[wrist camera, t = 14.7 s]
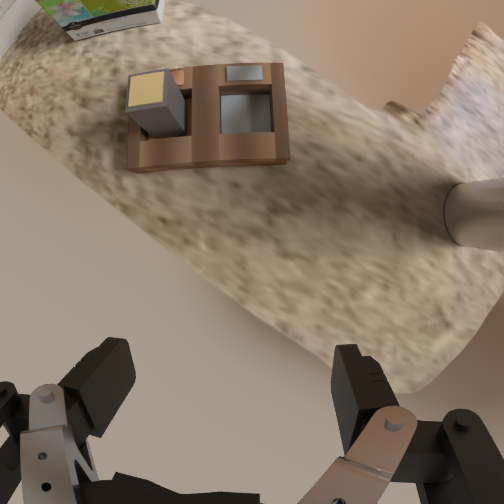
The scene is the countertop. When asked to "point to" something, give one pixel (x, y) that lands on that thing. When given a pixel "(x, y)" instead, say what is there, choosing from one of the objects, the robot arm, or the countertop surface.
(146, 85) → the grey rectangular block
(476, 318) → the countertop surface
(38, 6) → the multi-port usb hub
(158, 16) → the tea box
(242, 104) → the dock
